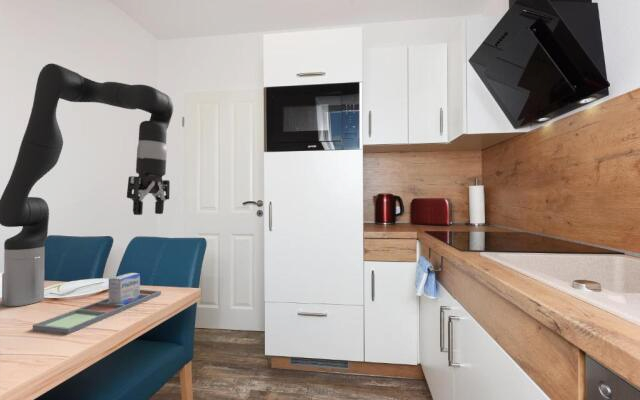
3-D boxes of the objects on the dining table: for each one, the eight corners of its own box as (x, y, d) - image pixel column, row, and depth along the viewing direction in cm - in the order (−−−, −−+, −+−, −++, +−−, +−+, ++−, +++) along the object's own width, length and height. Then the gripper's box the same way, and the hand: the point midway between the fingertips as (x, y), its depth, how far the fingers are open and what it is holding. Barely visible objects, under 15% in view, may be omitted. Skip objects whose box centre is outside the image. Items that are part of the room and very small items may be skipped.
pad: (37, 329, 78) (37, 327, 78) (77, 313, 88) (77, 312, 88) (68, 332, 76) (68, 331, 76) (106, 316, 86) (106, 315, 86)
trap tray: (32, 329, 77) (32, 325, 77) (133, 292, 108) (133, 288, 108) (68, 334, 75) (68, 329, 75) (160, 294, 106) (160, 291, 106)
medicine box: (120, 307, 94) (120, 279, 94) (107, 306, 95) (108, 278, 94) (140, 299, 101) (140, 273, 101) (128, 298, 102) (128, 272, 102)
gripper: (157, 161, 97) (154, 213, 96) (120, 154, 82) (117, 214, 82) (178, 162, 95) (176, 214, 95) (145, 154, 81) (142, 215, 81)
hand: (148, 214), depth 89 cm, fingers open, 8 cm apart
